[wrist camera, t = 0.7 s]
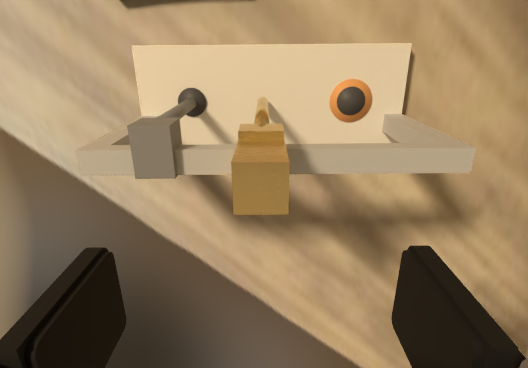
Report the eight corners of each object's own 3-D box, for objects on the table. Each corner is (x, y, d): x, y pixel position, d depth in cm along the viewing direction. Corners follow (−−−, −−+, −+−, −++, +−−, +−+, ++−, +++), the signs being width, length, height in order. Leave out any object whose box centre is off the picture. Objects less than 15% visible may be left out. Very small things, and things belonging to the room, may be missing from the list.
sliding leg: (249, 97, 37) (230, 151, 17) (276, 96, 37) (289, 150, 17) (249, 133, 38) (233, 223, 18) (275, 133, 38) (288, 222, 18)
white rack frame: (136, 45, 37) (43, 41, 21) (406, 43, 37) (509, 37, 21) (151, 150, 41) (82, 209, 26) (391, 148, 41) (468, 206, 26)
